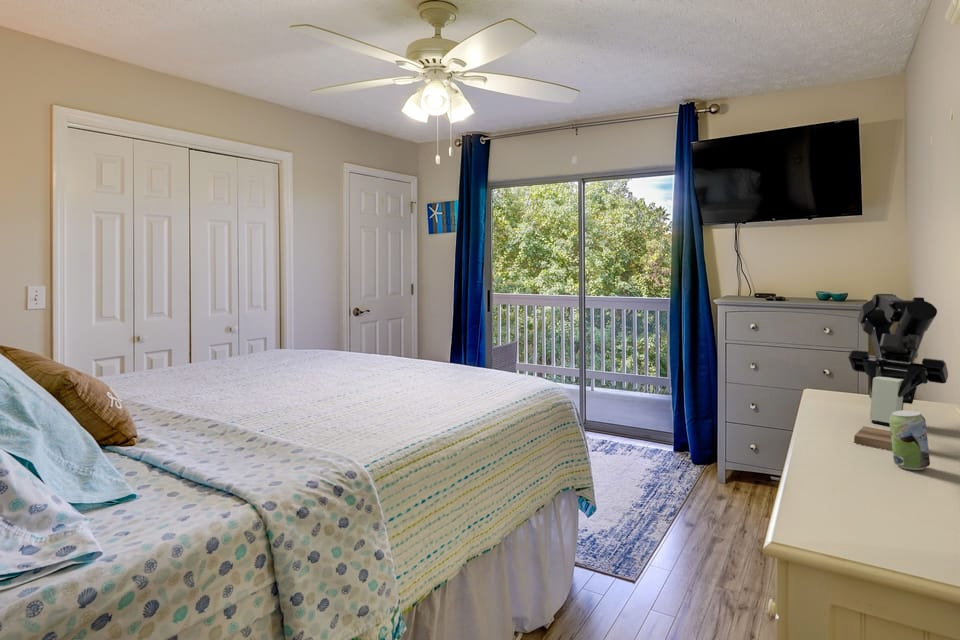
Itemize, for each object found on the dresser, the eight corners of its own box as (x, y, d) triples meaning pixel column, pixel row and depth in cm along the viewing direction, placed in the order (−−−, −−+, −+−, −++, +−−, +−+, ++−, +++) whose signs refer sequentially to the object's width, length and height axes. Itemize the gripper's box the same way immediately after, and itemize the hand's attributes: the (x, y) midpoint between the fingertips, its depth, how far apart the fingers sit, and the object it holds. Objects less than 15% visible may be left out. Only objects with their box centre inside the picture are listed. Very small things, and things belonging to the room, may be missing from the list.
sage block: (875, 416, 134) (879, 375, 133) (900, 421, 130) (904, 379, 129) (869, 419, 132) (873, 378, 131) (894, 424, 128) (898, 381, 127)
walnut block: (862, 435, 139) (863, 426, 138) (912, 445, 132) (913, 435, 131) (853, 445, 132) (854, 435, 131) (906, 456, 125) (907, 445, 124)
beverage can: (936, 474, 113) (941, 416, 111) (895, 471, 114) (900, 414, 113) (918, 463, 119) (923, 408, 117) (879, 460, 120) (884, 406, 119)
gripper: (854, 318, 138) (832, 366, 133) (949, 325, 123) (929, 380, 118) (863, 346, 144) (843, 393, 138) (955, 356, 129) (937, 410, 124)
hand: (885, 393), depth 130 cm, fingers closed on sage block, 5 cm apart
